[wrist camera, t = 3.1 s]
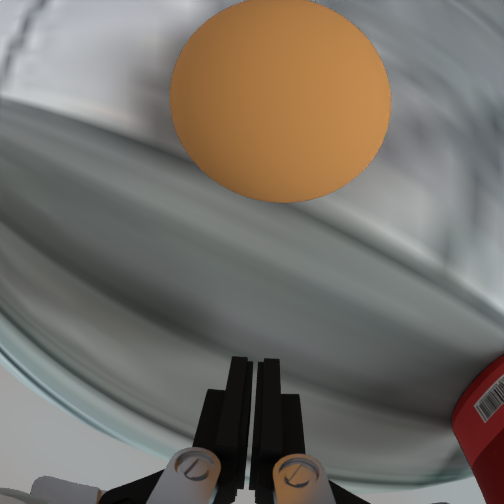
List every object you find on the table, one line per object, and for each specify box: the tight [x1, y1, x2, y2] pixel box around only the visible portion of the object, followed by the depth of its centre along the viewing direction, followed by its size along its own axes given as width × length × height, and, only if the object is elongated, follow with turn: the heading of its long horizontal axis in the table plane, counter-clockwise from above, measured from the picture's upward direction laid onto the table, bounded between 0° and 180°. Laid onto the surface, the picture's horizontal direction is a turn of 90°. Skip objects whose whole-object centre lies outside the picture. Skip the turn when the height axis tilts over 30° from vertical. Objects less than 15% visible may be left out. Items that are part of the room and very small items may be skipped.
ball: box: [170, 0, 391, 203], centre depth 7 cm, size 6×6×6 cm
